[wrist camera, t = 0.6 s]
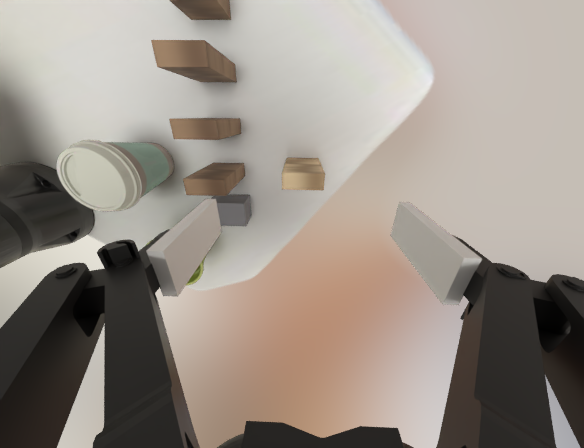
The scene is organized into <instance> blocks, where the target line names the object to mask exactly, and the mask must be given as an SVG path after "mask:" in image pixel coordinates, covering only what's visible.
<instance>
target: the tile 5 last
mask: <svg viewBox="0 0 584 448" xmlns="http://www.w3.org/2000/svg"><path fill="white" fill-rule="evenodd" d="M244 176H245V170H244V163H212V164H210V165H208V166H207V167H205V168H203V169H201V170H199V171H197V172H195V173H193V174H192V175H190V176H188V177H186V178H184V179H183V182H184V186H185V190H186V195H212V196H226V195H227V194H228V193H229V192H230V191H231V190H232V189H233V188H234V187H235V186H236V185H237V184H238V183H239V182H240V180H241V179H242V178H243V177H244Z"/></svg>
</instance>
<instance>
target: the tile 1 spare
mask: <svg viewBox="0 0 584 448" xmlns="http://www.w3.org/2000/svg"><path fill="white" fill-rule="evenodd" d="M324 178H325V173H324V170H323V168H322V166H321V163H320V161H319V159H318V158H287V159H286V162H285V165H284V168H283V171H282V189H290V190H324Z"/></svg>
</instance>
